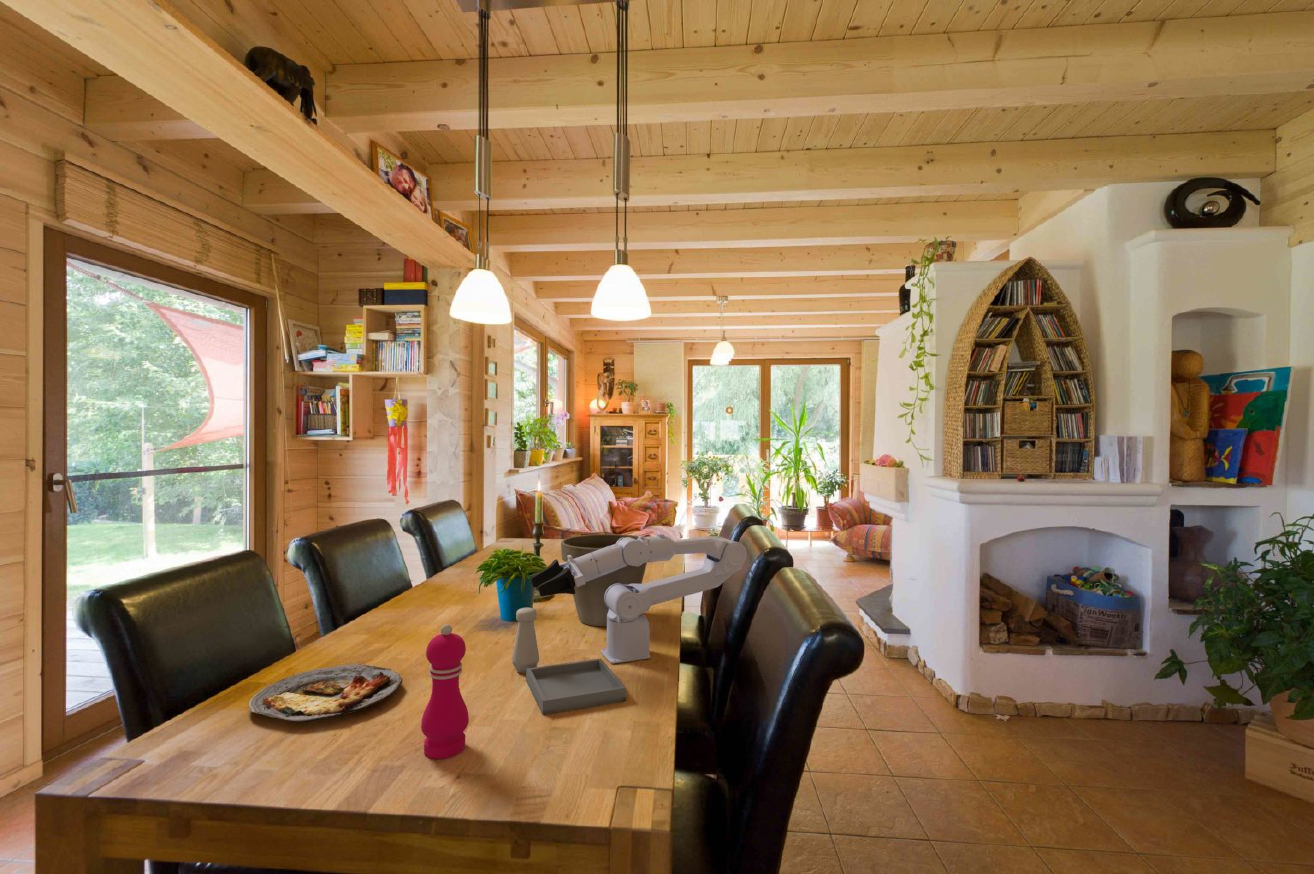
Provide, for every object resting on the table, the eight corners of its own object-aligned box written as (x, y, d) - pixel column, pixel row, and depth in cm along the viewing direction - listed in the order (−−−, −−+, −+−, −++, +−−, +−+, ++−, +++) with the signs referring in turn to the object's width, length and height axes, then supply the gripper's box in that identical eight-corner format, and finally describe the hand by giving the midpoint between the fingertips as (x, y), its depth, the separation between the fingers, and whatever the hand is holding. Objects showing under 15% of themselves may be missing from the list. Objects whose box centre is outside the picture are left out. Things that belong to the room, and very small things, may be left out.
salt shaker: (532, 676, 126) (533, 613, 126) (507, 673, 127) (507, 611, 127) (543, 665, 132) (544, 606, 132) (518, 663, 133) (519, 604, 133)
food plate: (426, 683, 121) (426, 666, 121) (329, 740, 99) (328, 719, 99) (330, 669, 129) (330, 653, 129) (221, 719, 107) (220, 699, 107)
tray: (600, 669, 130) (601, 658, 130) (626, 700, 115) (626, 687, 115) (525, 680, 123) (526, 668, 123) (542, 714, 109) (542, 700, 109)
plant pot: (569, 604, 179) (570, 531, 179) (652, 606, 178) (653, 533, 178) (551, 632, 154) (552, 547, 154) (647, 634, 153) (649, 549, 153)
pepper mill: (428, 738, 100) (429, 617, 100) (472, 737, 101) (474, 617, 100) (414, 761, 93) (416, 632, 93) (462, 760, 93) (464, 631, 93)
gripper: (580, 542, 141) (524, 562, 136) (599, 554, 128) (537, 577, 123) (588, 570, 142) (532, 591, 137) (607, 585, 129) (546, 609, 124)
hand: (535, 587), depth 130 cm, fingers open, 7 cm apart
